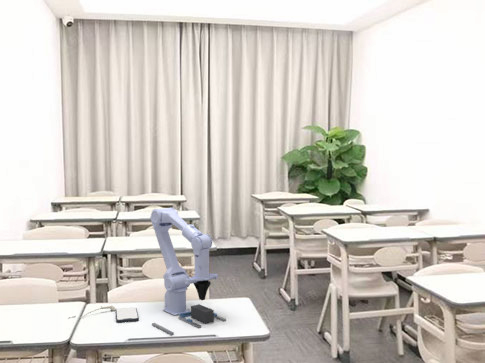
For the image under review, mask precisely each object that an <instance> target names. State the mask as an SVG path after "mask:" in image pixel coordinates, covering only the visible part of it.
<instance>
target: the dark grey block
mask: <svg viewBox="0 0 485 363" xmlns="http://www.w3.org/2000/svg"><path fill="white" fill-rule="evenodd" d="M190 311H191V316H190V319H191V320H195V321H197V322H199V323H201V324H203V325H209V324H213V323H214V322H215V321H214V319H215V318H214V313H215V312H214V309H211V308H209V307H207V306H204V305H202V304H200V303H198V304H194V305H190Z"/></svg>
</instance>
